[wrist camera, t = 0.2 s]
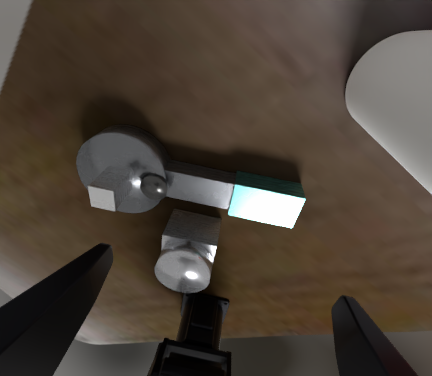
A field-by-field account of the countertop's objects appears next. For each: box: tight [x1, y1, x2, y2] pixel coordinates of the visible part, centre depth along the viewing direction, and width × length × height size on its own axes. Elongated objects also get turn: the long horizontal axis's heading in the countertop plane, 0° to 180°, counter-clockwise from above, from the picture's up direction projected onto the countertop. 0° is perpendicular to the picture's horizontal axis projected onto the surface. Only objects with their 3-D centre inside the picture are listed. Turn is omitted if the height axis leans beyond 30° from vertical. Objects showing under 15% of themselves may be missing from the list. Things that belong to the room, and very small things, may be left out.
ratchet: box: [77, 124, 306, 228], centre depth 21 cm, size 20×8×6 cm, turn 81°
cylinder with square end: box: [155, 209, 222, 293], centre depth 25 cm, size 5×5×6 cm
